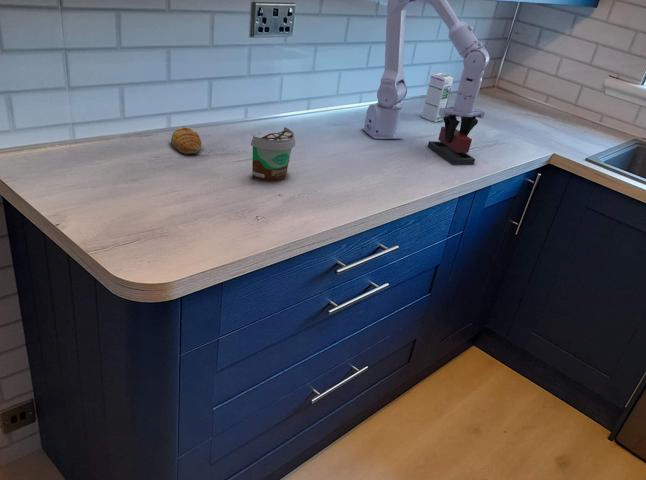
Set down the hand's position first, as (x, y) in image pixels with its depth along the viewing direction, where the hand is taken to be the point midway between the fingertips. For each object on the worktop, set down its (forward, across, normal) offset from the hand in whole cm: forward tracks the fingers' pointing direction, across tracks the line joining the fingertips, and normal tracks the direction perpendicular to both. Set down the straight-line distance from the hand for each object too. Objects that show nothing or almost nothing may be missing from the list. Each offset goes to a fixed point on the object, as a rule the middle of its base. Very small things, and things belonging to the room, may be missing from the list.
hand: (454, 141), depth 172 cm
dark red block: (+1, 0, 0) cm, 1 cm away
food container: (+4, -59, -13) cm, 61 cm away
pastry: (+4, -75, +5) cm, 75 cm away
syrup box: (+4, +14, +32) cm, 35 cm away
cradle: (+4, 0, 0) cm, 4 cm away
